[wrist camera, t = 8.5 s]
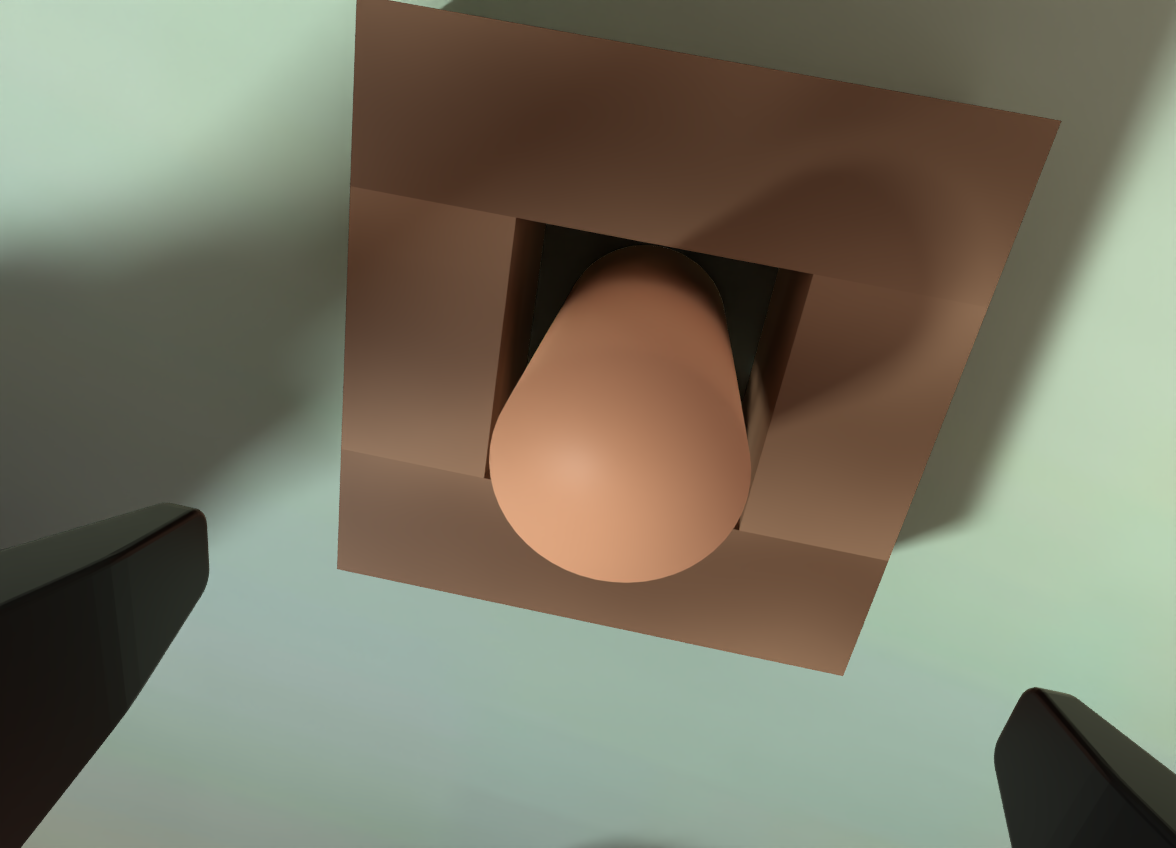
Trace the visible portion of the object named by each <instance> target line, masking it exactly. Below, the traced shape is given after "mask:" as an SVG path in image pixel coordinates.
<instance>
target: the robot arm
mask: <svg viewBox="0 0 1176 848" xmlns="http://www.w3.org/2000/svg"><path fill="white" fill-rule="evenodd" d="M208 577H209V554H208V534H207V521H206V518H205V515H204V514H203V513H202V512H201V511H200V510H199V509H196V508H191V507H186V506H182V505H177V504H172V503H161V504H157V505H154V506H151V507H147V508H144V509H140V510H137V511H134V512H130V513H127V514H123V515H120V516H117V517H113V518H110V519H106V520H103V521H100V522H96V523H93V524H89V525H86V526H83V527H79V528H76V529H72V530H69V531H66V532H62V533H59V534H55V535H52V536H49V537H45V538H42V539H38V540H35V541H32V542H28V543H25V544H22V545H18V546H15V547H11V548H8V549H5V550H1V551H0V848H21V847H22V845H23V844H24V843H25V842H26V840H27V839H28V838H29V837H30V835H31V834H32V833H33V831H34V830H35V829H36V828H37V826H38V825H39V824H40V823H41V821H42V820H43V819H44V817H45V816H46V815H47V814H48V812H49V811H50V810H51V809H52V807H53V806H54V805H55V803H56V802H57V801H58V800H59V798H60V797H61V796H62V795H63V793H64V792H65V791H66V789H67V788H68V787H69V786H70V784H71V783H72V782H73V781H74V779H75V778H76V777H77V775H78V774H79V773H80V772H81V770H82V769H83V768H84V767H85V765H86V764H87V763H88V761H89V760H90V759H91V758H92V756H93V755H94V754H95V753H96V751H97V750H98V749H99V747H100V746H101V745H102V744H103V742H104V741H105V740H106V739H107V737H108V736H109V735H110V733H111V732H112V731H113V730H114V728H115V727H116V726H117V724H118V723H119V722H120V720H121V719H122V718H123V716H124V715H125V714H126V712H127V711H128V709H129V708H130V707H131V705H132V704H133V702H134V701H135V699H136V698H137V696H138V695H139V693H140V692H141V690H142V689H143V687H144V685H145V684H146V682H147V681H148V679H149V678H150V676H151V674H152V673H153V671H154V670H155V668H156V667H157V665H158V663H159V662H160V660H161V659H162V657H163V655H164V654H165V652H166V651H167V649H168V648H169V646H170V644H171V643H172V641H173V640H174V638H175V637H176V635H177V633H178V632H179V630H180V629H181V627H182V625H183V624H184V622H185V621H186V619H187V618H188V616H189V614H190V613H191V611H192V610H193V608H194V607H195V605H196V603H197V602H198V600H199V599H200V597H201V595H202V594H203V592H204V590H205V587H206V585H207V581H208ZM994 765H995V771H996V775H997V780H998V785H999V790H1000V794H1001V799H1002V804H1003V809H1004V813H1005V818H1006V823H1007V827H1008V832H1009V837H1010V842H1011V846H1012V848H1176V774H1175V773H1173V772H1172V771H1171V770H1169V769H1168V768H1167V767H1166V766H1164V765H1163V764H1162V763H1160V762H1159V761H1158V760H1156V759H1155V758H1154V757H1153V756H1151V755H1150V754H1149V753H1147V752H1146V751H1145V750H1143V749H1142V748H1141V747H1140V746H1138V745H1137V744H1136V743H1134V742H1133V741H1132V740H1131V739H1129V738H1128V737H1127V736H1125V735H1124V734H1123V733H1121V732H1120V731H1119V730H1118V729H1116V728H1115V727H1114V726H1112V725H1111V724H1110V723H1109V722H1107V721H1106V720H1105V719H1103V718H1102V717H1101V716H1099V715H1098V714H1097V713H1096V712H1094V711H1093V710H1092V709H1090V708H1089V707H1088V706H1086V705H1085V704H1084V703H1083V702H1081V701H1080V700H1079V699H1077V698H1076V697H1074V696H1072V695H1070V694H1067V693H1062V692H1057V691H1052V690H1048V689H1043V688H1038V687H1034V688H1030V689H1027V690H1026V691H1025V692H1024V693H1023V694H1022V695H1021V697H1020V699H1019V700H1018V702H1017V704H1016V706H1015V708H1014V710H1013V712H1012V714H1011V716H1010V717H1009V719H1008V721H1007V723H1006V725H1005V727H1004V729H1003V731H1002V733H1001V734H1000V736H999V738H998V740H997V743H996V747H995V752H994Z"/></svg>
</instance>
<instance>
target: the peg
mask: <svg viewBox="0 0 1176 848" xmlns="http://www.w3.org/2000/svg"><path fill="white" fill-rule="evenodd" d="M489 466H490V477H491V481H492V486H493V490H494V493H495V496H496V498H497V501H498V504H499V506H500V508H501V510H502V512H503V514H504V515H505V517H506V519H507V521H508V522H509V523H510V525H511V526H512V528H513V529H514V530H515V532H516V533H517V534H518V535H519V536H520V537H521V538H522V539H523V540H524V542H525V543H526V544H527V545H529V546H530V547H531V548H532V549H533V550H535V551H536V552H537V553H538V554H539V555H541V556H542V557H544V558H545V559H547V560H548V561H550V562H551V563H553V564H555V565H557V566H559V567H561V568H563V569H565V570H567V571H570V572H572V573H575V574H578V575H580V576H584V577H588V578H591V579H595V580H601V581H608V582H622V583H631V582H645V581H650V580H656V579H660V578H664V577H667V576H670V575H674V574H676V573H678V572H681V571H683V570H685V569H687V568H690V567H691V566H693V565H695V564H696V563H698V562H700V561H701V560H703V559H704V558H705V557H707V556H708V555H709V554H711V553H712V552H713V551H714V550H715V549H716V548H717V547H718V546H719V545H720V544H721V543H722V542H723V541H724V540H725V539H726V538H727V536H728V535H729V534H730V532H731V531H732V530H733V528H734V527H735V525H736V523H737V522H738V520H739V518H740V516H741V514H742V512H743V509H744V506H745V504H746V501H747V498H748V493H749V488H750V481H751V461H750V451H749V446H748V440H747V434H746V428H745V423H744V417H743V411H742V406H741V400H740V394H739V389H738V383H737V377H736V371H735V366H734V360H733V354H732V349H731V343H730V337H729V332H728V326H727V320H726V314H725V309H724V305H723V301H722V298H721V296H720V293H719V291H718V289H717V287H716V285H715V284H714V282H713V280H712V279H711V278H710V276H709V275H708V274H707V273H706V272H705V271H704V270H703V269H702V268H701V267H700V266H699V265H698V264H697V263H696V262H694V261H693V260H692V259H690V258H689V257H687V256H685V255H683V254H682V253H679V252H677V251H674V250H672V249H669V248H665V247H661V246H653V245H636V246H629V247H625V248H621V249H618V250H615V251H613V252H610V253H608V254H606V255H604V256H603V257H601V258H599V259H598V260H597V261H595V262H594V263H593V264H592V265H590V266H589V267H588V268H587V269H586V270H585V271H584V272H583V273H582V275H581V276H580V277H579V279H578V280H577V282H576V283H575V285H574V287H573V288H572V290H571V292H570V293H569V295H568V297H567V299H566V300H565V302H564V304H563V306H562V307H561V309H560V311H559V312H558V314H557V316H556V318H555V319H554V321H553V323H552V325H551V326H550V328H549V330H548V331H547V333H546V335H545V337H544V338H543V340H542V342H541V344H540V345H539V347H538V349H537V350H536V352H535V354H534V356H533V357H532V359H531V361H530V363H529V364H528V366H527V368H526V369H525V371H524V373H523V375H522V376H521V378H520V380H519V382H518V383H517V385H516V387H515V388H514V390H513V392H512V394H511V395H510V397H509V399H508V401H507V402H506V404H505V406H504V408H503V410H502V411H501V413H500V415H499V417H498V420H497V422H496V425H495V428H494V431H493V434H492V439H491V444H490V456H489Z"/></svg>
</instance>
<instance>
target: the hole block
mask: <svg viewBox="0 0 1176 848" xmlns="http://www.w3.org/2000/svg"><path fill="white" fill-rule="evenodd" d="M1060 123H1061V121H1059V120H1054V119H1048V118H1043V117H1037V116H1031V115H1026V114H1020V113H1015V112H1009V111H1004V110H998V109H992V108H987V107H981V106H976V105H970V104H965V103H959V102H953V101H948V100H942V99H937V98H931V97H925V96H920V95H914V94H909V93H903V92H898V91H892V90H886V89H881V88H875V87H870V86H864V85H859V84H853V83H847V82H842V81H836V80H831V79H825V78H819V77H814V76H808V75H803V74H797V73H792V72H786V71H780V70H775V69H769V68H764V67H758V66H753V65H747V64H741V63H736V62H730V61H725V60H719V59H714V58H708V57H702V56H697V55H691V54H686V53H680V52H674V51H669V50H663V49H658V48H652V47H647V46H641V45H635V44H630V43H624V42H619V41H613V40H608V39H602V38H596V37H591V36H585V35H580V34H574V33H568V32H563V31H557V30H552V29H546V28H541V27H535V26H529V25H524V24H518V23H513V22H507V21H502V20H496V19H490V18H485V17H479V16H474V15H468V14H462V13H457V12H451V11H446V10H440V9H435V8H429V7H423V6H418V5H412V4H407V3H401V2H396V1H390V0H357V4H356V33H355V62H354V92H353V121H352V150H351V179H350V209H349V238H348V267H347V296H346V326H345V355H344V384H343V413H342V443H341V472H340V501H339V530H338V560H337V569H340V570H345V571H349V572H354V573H359V574H364V575H368V576H373V577H378V578H382V579H387V580H392V581H397V582H401V583H406V584H411V585H415V586H420V587H425V588H430V589H434V590H439V591H444V592H449V593H453V594H458V595H463V596H467V597H472V598H477V599H482V600H486V601H491V602H496V603H501V604H505V605H510V606H515V607H519V608H524V609H529V610H534V611H538V612H543V613H548V614H552V615H557V616H562V617H567V618H571V619H576V620H581V621H586V622H590V623H595V624H600V625H604V626H609V627H614V628H619V629H623V630H628V631H633V632H638V633H642V634H647V635H652V636H656V637H661V638H666V639H671V640H675V641H680V642H685V643H690V644H694V645H699V646H704V647H708V648H713V649H718V650H723V651H727V652H732V653H737V654H741V655H746V656H751V657H756V658H760V659H765V660H770V661H775V662H779V663H784V664H789V665H793V666H798V667H803V668H808V669H812V670H817V671H822V672H827V673H831V674H836V675H841V676H843V675H844V672H845V670H846V667H847V665H848V662H849V659H850V657H851V654H852V652H853V649H854V647H855V644H856V642H857V639H858V637H859V634H860V632H861V629H862V626H863V624H864V621H865V619H866V616H867V614H868V611H869V609H870V606H871V604H872V601H873V599H874V596H875V593H876V591H877V588H878V586H879V583H880V581H881V578H882V576H883V573H884V571H885V568H886V565H887V563H888V560H889V558H890V555H891V553H892V550H893V548H894V545H895V543H896V540H897V538H898V535H899V532H900V530H901V527H902V525H903V522H904V520H905V517H906V515H907V512H908V510H909V507H910V504H911V502H912V499H913V497H914V494H915V492H916V489H917V487H918V484H919V482H920V479H921V477H922V474H923V471H924V469H925V466H926V464H927V461H928V459H929V456H930V454H931V451H932V449H933V446H934V443H935V441H936V438H937V436H938V433H939V431H940V428H941V426H942V423H943V421H944V418H945V416H946V413H947V410H948V408H949V405H950V403H951V400H952V398H953V395H954V393H955V390H956V388H957V385H958V382H959V380H960V377H961V375H962V372H963V370H964V367H965V365H966V362H967V360H968V357H969V355H970V352H971V349H972V347H973V344H974V342H975V339H976V337H977V334H978V332H979V329H980V327H981V324H982V322H983V319H984V316H985V314H986V311H987V309H988V306H989V304H990V301H991V299H992V296H993V294H994V291H995V288H996V286H997V283H998V281H999V278H1000V276H1001V273H1002V271H1003V268H1004V266H1005V263H1006V261H1007V258H1008V255H1009V253H1010V250H1011V248H1012V245H1013V243H1014V240H1015V238H1016V235H1017V233H1018V230H1019V227H1020V225H1021V222H1022V220H1023V217H1024V215H1025V212H1026V210H1027V207H1028V205H1029V202H1030V200H1031V197H1032V194H1033V192H1034V189H1035V187H1036V184H1037V182H1038V179H1039V177H1040V174H1041V172H1042V169H1043V166H1044V164H1045V161H1046V159H1047V156H1048V154H1049V151H1050V149H1051V146H1052V144H1053V141H1054V139H1055V136H1056V133H1057V131H1058V128H1059V126H1060ZM546 223H547V224H552V225H557V226H562V227H568V228H573V229H578V230H584V231H589V232H594V233H599V234H605V235H610V236H615V237H620V238H626V239H631V240H636V241H641V242H647V243H652V244H657V245H662V246H668V247H673V248H678V249H683V250H689V251H694V252H699V253H705V254H710V255H715V256H720V257H726V258H731V259H736V260H741V261H747V262H752V263H757V264H762V265H768V266H773V267H778V268H779V270H778V273H777V277H776V281H775V284H774V288H773V292H772V296H771V299H770V303H769V307H768V310H767V314H766V318H765V321H764V325H763V329H762V333H761V336H760V340H759V344H758V347H757V351H756V355H755V358H754V362H753V366H752V370H751V373H750V377H749V381H748V384H747V388H746V392H745V395H744V399H743V403H742V411H743V417H744V423H745V428H746V434H747V440H748V446H749V451H750V461H751V481H750V488H749V493H748V498H747V501H746V504H745V506H744V509H743V512H742V514H741V516H740V518H739V520H738V522H737V523H736V525H735V527H734V528H733V530H732V531H731V532H730V534H729V535H728V536H727V538H726V539H725V540H724V541H723V542H722V543H721V544H720V545H719V546H718V547H717V548H716V549H715V550H714V551H713V552H712V553H711V554H709V555H708V556H707V557H705V558H704V559H703V560H701V561H700V562H698V563H696V564H695V565H693V566H691V567H690V568H687V569H685V570H683V571H681V572H678V573H676V574H674V575H670V576H667V577H664V578H660V579H656V580H650V581H645V582H631V583H622V582H608V581H601V580H595V579H591V578H588V577H584V576H580V575H578V574H575V573H572V572H570V571H567V570H565V569H563V568H561V567H559V566H557V565H555V564H553V563H551V562H550V561H548V560H547V559H545V558H544V557H542V556H541V555H539V554H538V553H537V552H536V551H535V550H533V549H532V548H531V547H530V546H529V545H527V544H526V543H525V542H524V540H523V539H522V538H521V537H520V536H519V535H518V534H517V533H516V532H515V530H514V529H513V528H512V526H511V525H510V523H509V522H508V521H507V519H506V517H505V515H504V514H503V512H502V510H501V508H500V506H499V504H498V501H497V498H496V496H495V493H494V490H493V486H492V481H491V477H490V466H489V456H490V444H491V439H492V434H493V431H494V428H495V425H496V422H497V420H498V417H499V415H500V413H501V411H502V410H503V408H504V406H505V404H506V402H507V401H508V399H509V397H510V395H511V394H512V392H513V390H514V388H515V387H516V385H517V383H518V382H519V380H520V378H521V376H522V375H523V373H524V371H525V369H526V366H527V359H528V352H529V344H530V337H531V330H532V323H533V316H534V309H535V301H536V294H537V287H538V280H539V273H540V266H541V259H542V251H543V244H544V237H545V230H546Z"/></svg>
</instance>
